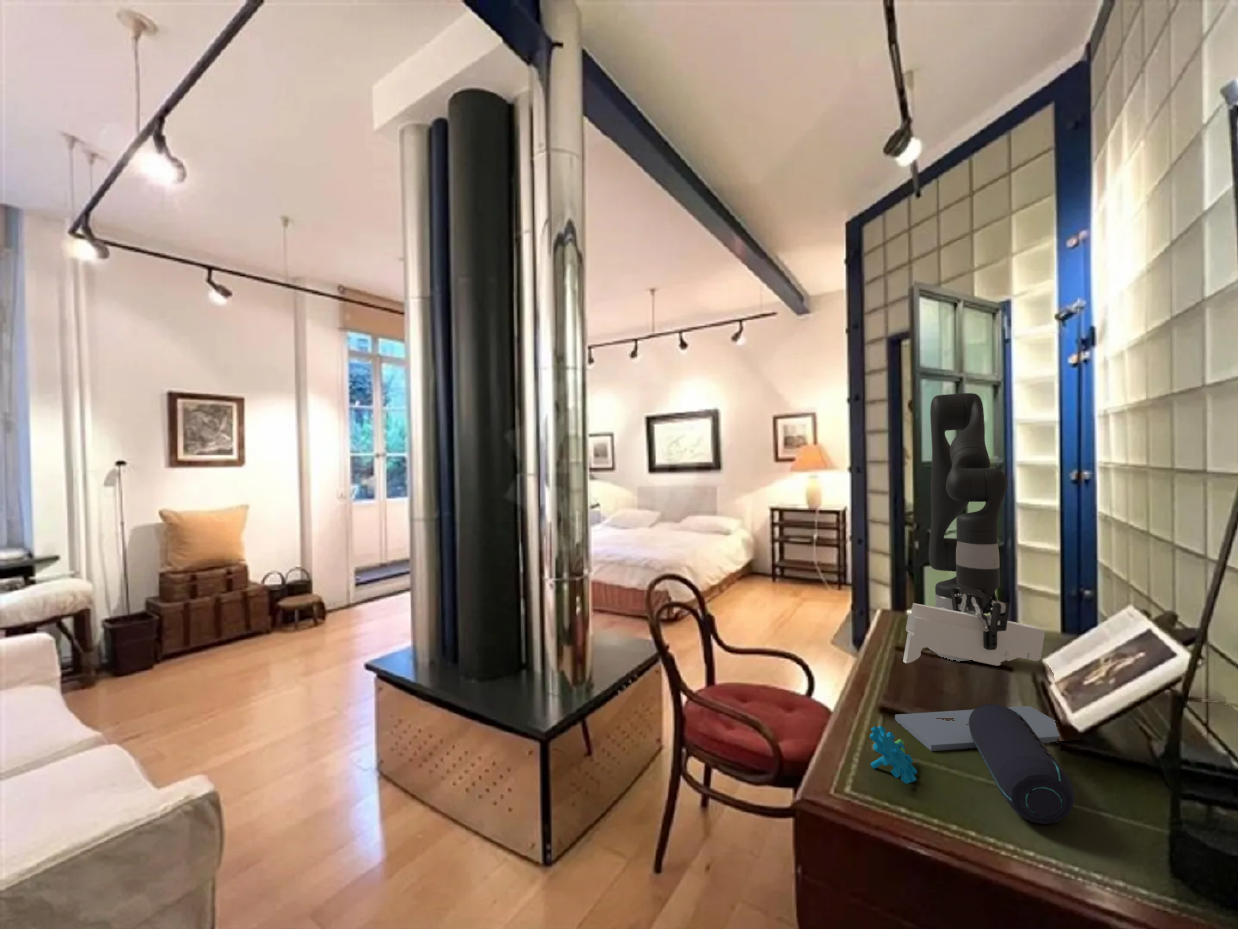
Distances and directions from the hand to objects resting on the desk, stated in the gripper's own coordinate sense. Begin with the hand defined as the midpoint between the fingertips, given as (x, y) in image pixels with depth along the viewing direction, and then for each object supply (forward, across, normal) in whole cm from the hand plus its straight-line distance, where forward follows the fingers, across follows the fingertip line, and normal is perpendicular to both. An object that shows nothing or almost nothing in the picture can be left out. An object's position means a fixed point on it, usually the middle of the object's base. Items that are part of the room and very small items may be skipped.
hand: (978, 643), depth 110 cm
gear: (+19, -12, +26) cm, 34 cm away
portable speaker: (+19, -18, +7) cm, 27 cm away
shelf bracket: (+4, 0, +2) cm, 4 cm away
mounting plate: (+18, 0, 0) cm, 18 cm away
